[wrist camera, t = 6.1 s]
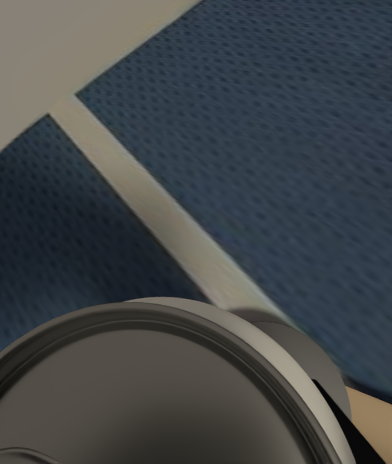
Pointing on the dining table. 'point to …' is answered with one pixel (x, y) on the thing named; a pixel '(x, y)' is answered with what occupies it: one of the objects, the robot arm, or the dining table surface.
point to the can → (160, 391)
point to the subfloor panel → (337, 387)
